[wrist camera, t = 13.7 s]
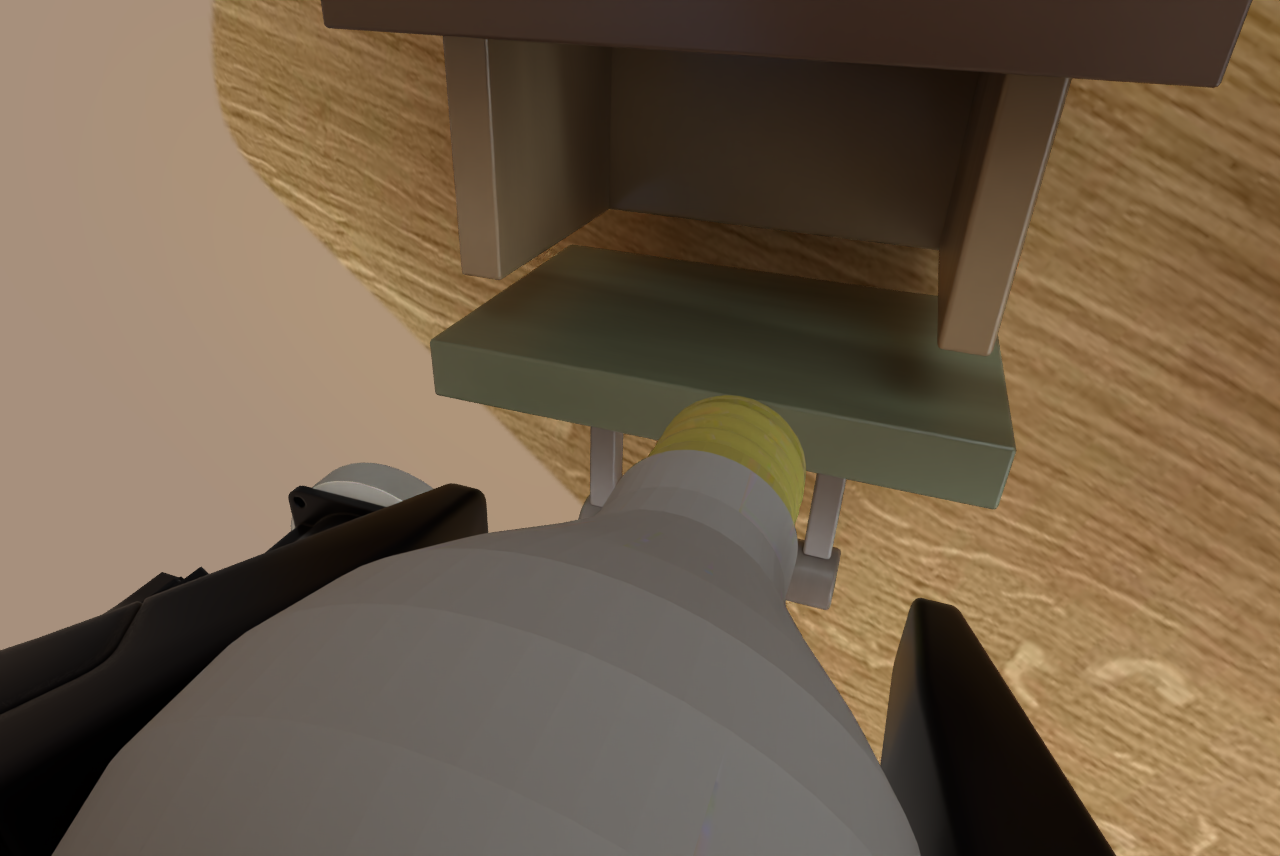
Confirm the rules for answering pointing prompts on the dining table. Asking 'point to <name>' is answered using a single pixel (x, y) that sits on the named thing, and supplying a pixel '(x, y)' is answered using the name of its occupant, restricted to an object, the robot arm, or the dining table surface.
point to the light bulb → (531, 693)
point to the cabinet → (859, 31)
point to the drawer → (741, 298)
